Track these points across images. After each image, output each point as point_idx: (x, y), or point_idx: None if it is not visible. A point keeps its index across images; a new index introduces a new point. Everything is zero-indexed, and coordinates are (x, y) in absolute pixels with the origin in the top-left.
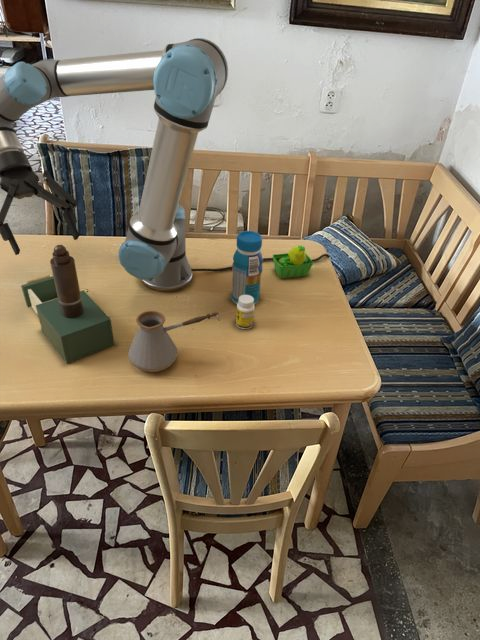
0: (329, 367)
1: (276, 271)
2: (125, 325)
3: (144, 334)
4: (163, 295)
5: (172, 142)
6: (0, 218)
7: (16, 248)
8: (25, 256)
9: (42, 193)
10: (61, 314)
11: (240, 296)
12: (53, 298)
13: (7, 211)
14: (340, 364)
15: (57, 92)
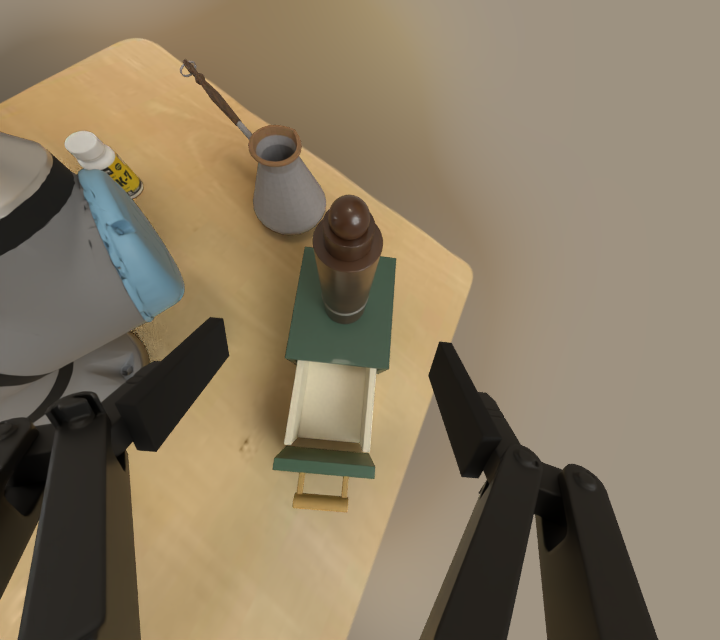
0: (139, 76)
1: None
2: (266, 302)
3: (299, 157)
4: (149, 332)
5: None
6: (522, 474)
7: (451, 348)
8: None
9: (108, 614)
10: (364, 310)
11: (80, 151)
12: (317, 449)
13: (467, 538)
14: (124, 71)
15: None
